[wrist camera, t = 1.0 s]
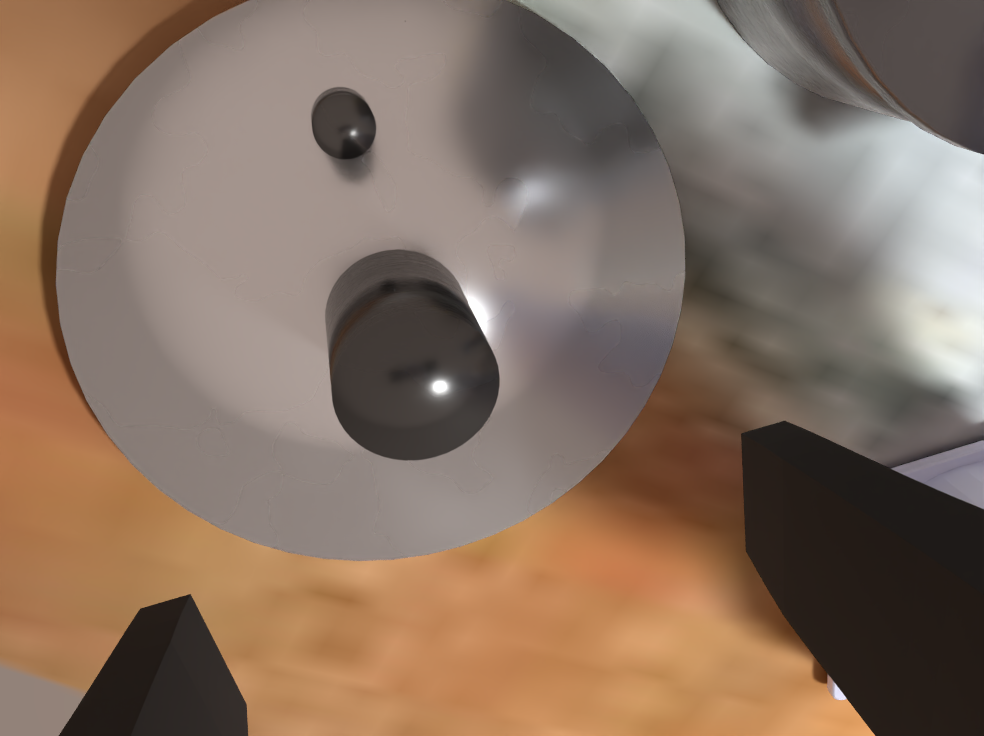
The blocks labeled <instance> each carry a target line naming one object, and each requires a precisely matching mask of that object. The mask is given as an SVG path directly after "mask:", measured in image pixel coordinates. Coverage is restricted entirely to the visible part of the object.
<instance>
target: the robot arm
mask: <svg viewBox="0 0 984 736" xmlns="http://www.w3.org/2000/svg"><path fill="white" fill-rule="evenodd" d="M741 439H742V465H743V490H744V516H745V541H746V552H747V554H748V555H749V557H750V559H751V561H752V562H753V564H754V566H755V568H756V570H757V571H758V573H759V575H760V577H761V578H762V580H763V582H764V584H765V585H766V587H767V589H768V590H769V592H770V594H771V595H772V597H773V599H774V600H775V602H776V604H777V605H778V607H779V609H780V610H781V612H782V614H783V615H784V617H785V618H786V619H787V621H788V622H789V624H790V625H791V626H792V628H793V629H794V630H795V632H796V633H797V634H798V636H799V637H800V638H801V639H802V641H803V642H804V643H805V645H806V646H807V647H808V649H809V650H810V651H811V653H812V654H813V655H814V657H815V658H816V659H817V661H818V662H819V663H820V664H821V666H822V667H823V668H824V670H825V671H826V672H827V674H828V681H827V688H828V691H829V692H830V694H831V695H832V696H833V698H835V699H837V700H845V699H848V701H849V702H850V703H851V705H852V706H853V707H854V709H855V710H856V711H857V712H858V714H859V715H860V716H861V718H862V719H863V720H864V721H865V723H866V724H867V725H868V727H869V728H870V729H871V731H872V732H873V733H874V734H875V736H984V440H982V441H978V442H975V443H972V444H969V445H965V446H962V447H959V448H956V449H952V450H949V451H946V452H943V453H939V454H936V455H933V456H930V457H926V458H923V459H920V460H917V461H913V462H910V463H907V464H904V465H900V466H897V467H894V468H891V469H890V468H888V467H886V466H883V465H881V464H879V463H877V462H875V461H873V460H871V459H868V458H866V457H864V456H862V455H860V454H858V453H855V452H853V451H851V450H849V449H847V448H845V447H842V446H840V445H838V444H836V443H834V442H832V441H829V440H827V439H825V438H823V437H821V436H819V435H816V434H814V433H812V432H810V431H807V430H805V429H803V428H801V427H798V426H796V425H793V424H791V423H789V422H786V421H782V422H779V423H775V424H772V425H769V426H765V427H762V428H758V429H755V430H751V431H748V432H745V433H741ZM59 736H248V724H247V704H246V702H245V700H244V699H243V697H242V695H241V693H240V691H239V689H238V687H237V685H236V683H235V681H234V679H233V677H232V675H231V673H230V671H229V669H228V667H227V665H226V663H225V661H224V659H223V657H222V655H221V653H220V651H219V649H218V647H217V645H216V643H215V641H214V639H213V637H212V635H211V633H210V632H209V630H208V628H207V626H206V624H205V622H204V620H203V618H202V616H201V614H200V612H199V610H198V608H197V606H196V604H195V602H194V600H193V598H192V596H191V594H189V595H186V596H182V597H179V598H175V599H172V600H169V601H165V602H162V603H158V604H155V605H151V606H148V607H145V608H141V609H140V610H139V612H138V613H137V615H136V616H135V618H134V619H133V621H132V622H131V624H130V625H129V627H128V628H127V630H126V631H125V633H124V635H123V636H122V638H121V639H120V641H119V642H118V644H117V646H116V647H115V649H114V650H113V652H112V653H111V655H110V657H109V658H108V660H107V661H106V663H105V664H104V666H103V668H102V669H101V671H100V672H99V674H98V676H97V677H96V679H95V680H94V682H93V683H92V685H91V687H90V688H89V690H88V691H87V693H86V694H85V696H84V698H83V699H82V701H81V702H80V704H79V705H78V707H77V709H76V710H75V712H74V713H73V715H72V717H71V718H70V719H69V721H68V723H67V724H66V726H65V727H64V729H63V730H62V732H61V733H60V735H59Z"/></svg>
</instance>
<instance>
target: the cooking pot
mask: <svg viewBox="0 0 984 736" xmlns="http://www.w3.org/2000/svg"><path fill="white" fill-rule="evenodd" d="M717 1H718V3H719V5H720V7H721V9H722V11H723V12H724V13H725V15H726V16H727V17H728V19H729V20H730V21H731V23H732V24H733V26H734V27H735V28H736V30H737V31H738V32H739V34H740V35H741V37H742V38H743V39H744V40H745V41H746V42H747V43H748V44H749V45H750V46H751V47H752V48H753V49H754V50H755V51H756V52H757V53H758V54H759V55H760V56H761V57H762V58H763V59H764V60H765V61H766V62H767V63H768V64H769V65H770V66H772V67H773V68H774V69H776V70H777V71H779V72H780V73H781V74H783V75H784V76H786V77H787V78H788V79H790V80H791V81H792V82H794V83H795V84H797V85H800V86H802V87H804V88H806V89H808V90H810V91H812V92H814V93H816V94H818V95H820V96H822V97H825V98H828V99H831V100H835V101H838V102H842V103H845V104H849V105H852V106H856V107H859V108H863V109H866V110H870V111H874V112H877V113H881V114H884V115H888V116H892V117H895V118H899V119H902V120H906V121H910V122H912V123H914V124H915V125H916V126H918V127H919V128H920V129H922V130H924V131H926V132H928V133H930V134H932V135H934V136H936V137H938V138H940V139H942V140H944V141H946V142H948V143H950V144H952V145H954V146H957V147H961V148H964V149H967V150H971V151H974V152H977V153H981V154H984V0H717Z"/></svg>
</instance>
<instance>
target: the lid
mask: <svg viewBox="0 0 984 736" xmlns="http://www.w3.org/2000/svg"><path fill="white" fill-rule="evenodd" d="M684 282H685V237H684V230H683V223H682V216H681V209H680V203H679V199H678V196H677V192H676V189H675V185H674V182H673V178H672V175H671V172H670V168H669V165H668V163H667V161H666V159H665V156H664V154H663V152H662V150H661V148H660V145H659V143H658V141H657V139H656V136H655V134H654V132H653V130H652V129H651V127H650V125H649V124H648V122H647V121H646V119H645V118H644V116H643V114H642V113H641V111H640V110H639V108H638V106H637V105H636V103H635V102H634V100H633V99H632V97H631V96H630V95H629V94H628V92H627V91H626V90H625V89H624V88H623V87H622V85H621V84H620V83H619V82H618V81H617V80H616V78H615V77H614V76H613V75H612V74H611V73H610V71H609V70H608V69H607V68H606V67H605V66H604V65H603V64H602V63H601V62H600V61H599V60H597V59H596V58H595V57H594V56H593V55H592V54H591V53H589V52H588V51H587V50H586V49H585V48H584V47H583V46H581V45H580V44H579V43H578V42H577V41H576V40H575V39H573V38H572V37H570V36H569V35H567V34H566V33H564V32H563V31H561V30H560V29H558V28H557V27H555V26H554V25H552V24H550V23H549V22H547V21H546V20H544V19H543V18H541V17H540V16H538V15H537V14H535V13H532V12H530V11H528V10H526V9H524V8H522V7H519V6H517V5H515V4H513V3H511V2H508V1H506V0H248V1H245V2H243V3H241V4H239V5H237V6H235V7H233V8H231V9H229V10H226V11H224V12H222V13H220V14H218V15H216V16H214V17H212V18H211V19H209V20H208V21H206V22H205V23H203V24H202V25H200V26H199V27H197V28H196V29H194V30H193V31H191V32H190V33H188V34H187V35H185V36H184V37H182V38H181V39H179V40H178V41H177V42H175V43H174V44H172V45H171V46H170V47H169V48H168V49H167V50H165V51H164V52H163V53H162V54H161V55H160V56H159V57H158V58H157V59H156V60H155V61H153V62H152V63H151V64H150V65H149V66H148V67H147V68H146V69H145V70H144V71H143V72H142V73H140V74H139V75H138V76H137V77H136V78H135V79H134V80H133V82H132V83H131V84H130V85H129V87H128V88H127V89H126V90H125V92H124V93H123V94H122V95H121V97H120V98H119V99H118V100H117V102H116V103H115V104H114V105H113V107H112V108H111V109H110V111H109V112H108V113H107V114H106V116H105V117H104V119H103V121H102V122H101V124H100V126H99V128H98V130H97V131H96V133H95V135H94V137H93V138H92V140H91V142H90V144H89V145H88V147H87V149H86V151H85V152H84V154H83V156H82V159H81V161H80V164H79V167H78V169H77V172H76V175H75V177H74V180H73V182H72V185H71V188H70V190H69V193H68V196H67V199H66V204H65V208H64V213H63V218H62V223H61V228H60V233H59V238H58V248H57V269H56V290H57V299H58V308H59V317H60V325H61V329H62V333H63V337H64V341H65V344H66V348H67V352H68V356H69V359H70V363H71V366H72V368H73V370H74V373H75V375H76V377H77V380H78V382H79V384H80V387H81V389H82V391H83V394H84V396H85V398H86V401H87V402H88V404H89V406H90V407H91V409H92V410H93V412H94V414H95V415H96V417H97V419H98V420H99V422H100V423H101V425H102V427H103V428H104V430H105V432H106V433H107V435H108V436H109V437H110V438H111V440H112V441H113V442H114V443H115V444H116V446H117V447H118V448H119V449H120V451H121V452H122V453H123V454H124V455H125V457H126V458H127V459H128V460H129V462H130V463H131V464H132V465H133V466H134V467H135V468H136V469H138V470H139V471H140V472H141V473H142V474H143V475H144V476H145V477H146V478H147V479H148V480H149V481H150V482H151V483H152V484H153V485H155V486H156V487H157V488H158V489H159V490H160V491H162V492H163V493H164V494H166V495H167V496H169V497H170V498H171V499H173V500H174V501H175V502H177V503H178V504H180V505H181V506H182V507H184V508H185V509H186V510H188V511H189V512H191V513H193V514H195V515H197V516H198V517H200V518H202V519H204V520H206V521H207V522H209V523H211V524H213V525H215V526H216V527H218V528H220V529H222V530H225V531H227V532H229V533H232V534H234V535H237V536H239V537H242V538H244V539H246V540H249V541H251V542H254V543H257V544H260V545H264V546H267V547H271V548H274V549H278V550H281V551H285V552H288V553H294V554H300V555H305V556H311V557H317V558H323V559H337V560H353V561H369V560H394V559H401V558H408V557H415V556H422V555H428V554H432V553H436V552H441V551H445V550H449V549H453V548H457V547H461V546H464V545H466V544H469V543H472V542H475V541H478V540H480V539H483V538H486V537H489V536H492V535H494V534H496V533H498V532H500V531H502V530H505V529H507V528H509V527H511V526H513V525H515V524H517V523H519V522H521V521H523V520H525V519H527V518H528V517H530V516H532V515H533V514H535V513H537V512H538V511H540V510H542V509H543V508H545V507H547V506H548V505H550V504H551V503H553V502H554V501H556V500H557V499H558V498H560V497H561V496H562V495H563V494H565V493H566V492H567V491H569V490H570V489H571V488H573V487H574V486H575V485H577V484H578V483H579V482H580V481H581V480H582V479H584V478H585V477H586V476H587V475H588V474H589V473H590V472H591V471H592V470H593V469H594V468H595V467H596V466H597V465H598V464H599V463H601V462H602V461H603V460H604V459H605V457H606V456H607V455H608V454H609V453H610V452H611V450H612V449H613V448H614V447H615V446H616V445H617V443H618V442H619V441H620V440H621V439H622V438H623V436H624V435H625V434H626V433H627V431H628V430H629V428H630V427H631V425H632V424H633V422H634V421H635V419H636V418H637V417H638V415H639V414H640V412H641V411H642V409H643V408H644V406H645V404H646V402H647V401H648V399H649V397H650V395H651V393H652V391H653V389H654V387H655V385H656V383H657V382H658V380H659V378H660V376H661V373H662V371H663V368H664V365H665V363H666V360H667V358H668V355H669V352H670V350H671V347H672V344H673V341H674V337H675V333H676V329H677V325H678V321H679V317H680V313H681V307H682V299H683V290H684Z"/></svg>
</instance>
